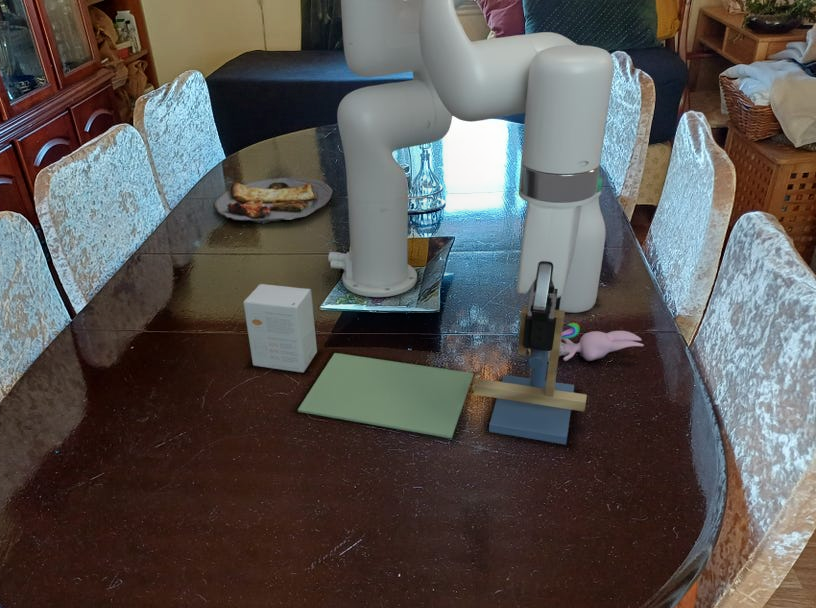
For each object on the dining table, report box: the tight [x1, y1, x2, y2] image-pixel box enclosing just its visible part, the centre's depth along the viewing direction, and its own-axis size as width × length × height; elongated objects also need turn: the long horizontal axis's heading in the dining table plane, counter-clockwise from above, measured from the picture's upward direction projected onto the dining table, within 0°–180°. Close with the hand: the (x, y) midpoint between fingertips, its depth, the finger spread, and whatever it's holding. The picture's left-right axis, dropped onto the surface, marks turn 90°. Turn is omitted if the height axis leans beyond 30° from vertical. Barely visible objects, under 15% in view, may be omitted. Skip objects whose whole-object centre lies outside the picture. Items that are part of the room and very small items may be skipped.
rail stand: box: [488, 349, 575, 446], centre depth 88 cm, size 9×11×11 cm
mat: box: [297, 352, 475, 439], centre depth 96 cm, size 20×14×1 cm
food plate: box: [212, 176, 333, 225], centre depth 154 cm, size 25×23×4 cm
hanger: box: [473, 305, 588, 413], centre depth 84 cm, size 13×2×12 cm, turn 70°
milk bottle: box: [559, 175, 606, 314], centre depth 108 cm, size 8×8×20 cm
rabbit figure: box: [527, 322, 645, 363], centre depth 99 cm, size 6×6×15 cm
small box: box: [243, 283, 318, 373], centre depth 101 cm, size 8×6×10 cm
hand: (540, 334), depth 83 cm, fingers open, 4 cm apart
